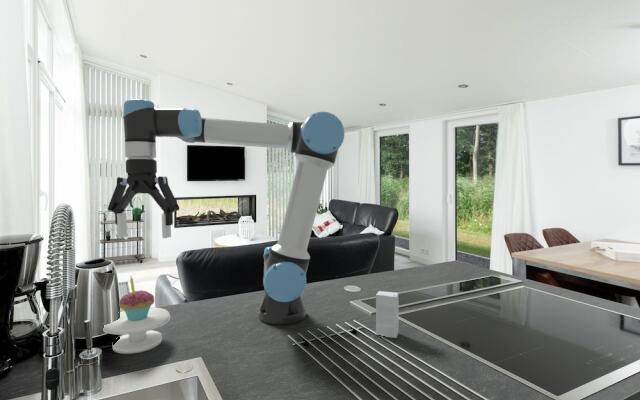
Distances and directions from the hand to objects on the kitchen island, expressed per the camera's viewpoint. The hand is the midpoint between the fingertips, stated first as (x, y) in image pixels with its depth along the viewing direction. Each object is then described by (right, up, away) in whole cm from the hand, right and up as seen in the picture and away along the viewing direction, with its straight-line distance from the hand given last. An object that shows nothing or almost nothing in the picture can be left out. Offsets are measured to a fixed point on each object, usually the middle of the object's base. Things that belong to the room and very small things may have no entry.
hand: (144, 237), depth 101 cm
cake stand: (-2, -29, 0) cm, 29 cm away
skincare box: (+67, -29, +6) cm, 73 cm away
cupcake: (-2, -22, -1) cm, 22 cm away
